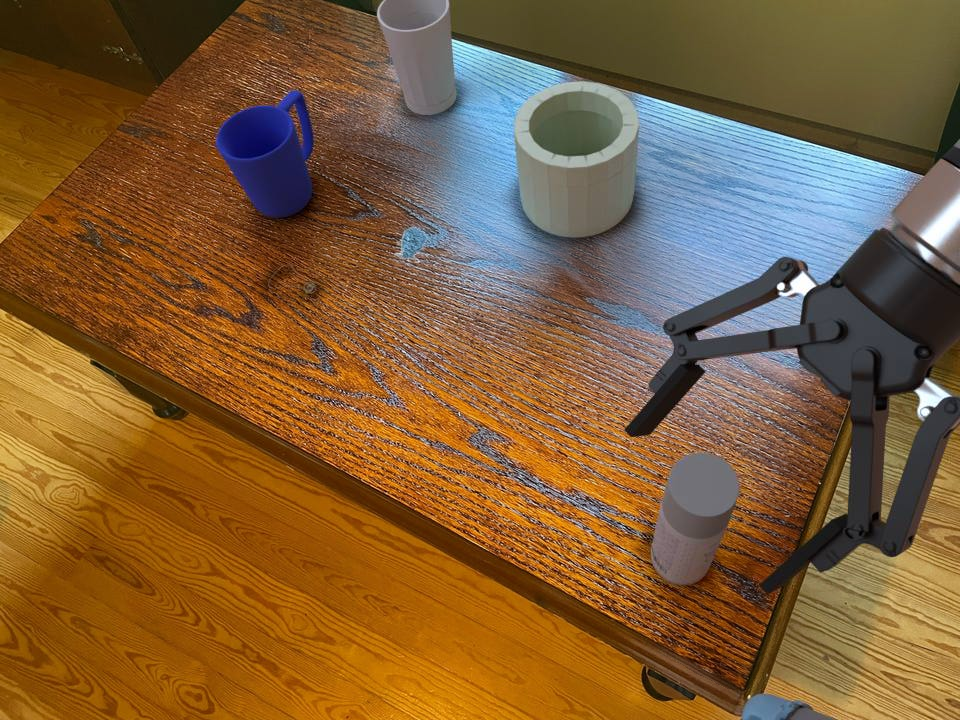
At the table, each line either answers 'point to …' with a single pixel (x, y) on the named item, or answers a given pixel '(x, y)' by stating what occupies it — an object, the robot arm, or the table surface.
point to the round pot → (576, 158)
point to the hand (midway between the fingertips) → (699, 504)
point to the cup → (421, 51)
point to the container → (693, 517)
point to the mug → (270, 155)
